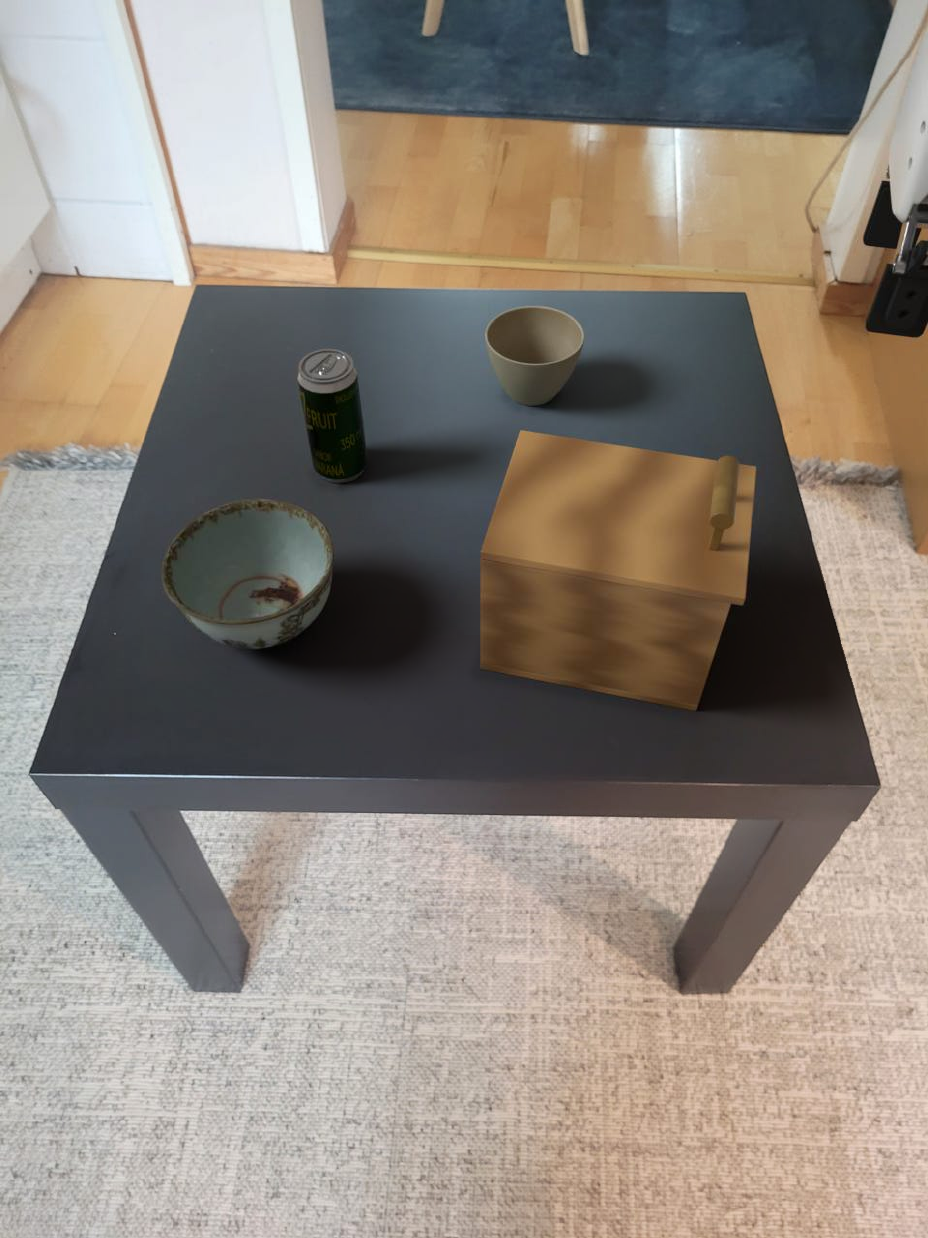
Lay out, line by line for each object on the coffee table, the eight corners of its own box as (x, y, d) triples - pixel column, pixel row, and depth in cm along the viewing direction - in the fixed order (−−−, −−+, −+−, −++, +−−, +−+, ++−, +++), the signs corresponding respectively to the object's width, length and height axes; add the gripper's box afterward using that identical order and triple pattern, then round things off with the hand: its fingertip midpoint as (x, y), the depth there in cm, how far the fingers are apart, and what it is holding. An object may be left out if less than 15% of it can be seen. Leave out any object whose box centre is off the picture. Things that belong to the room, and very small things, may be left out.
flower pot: (466, 384, 101) (466, 326, 95) (541, 352, 104) (545, 294, 99) (520, 434, 96) (523, 375, 90) (597, 399, 99) (604, 341, 93)
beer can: (330, 443, 95) (314, 341, 86) (377, 457, 94) (366, 355, 84) (303, 476, 92) (284, 374, 83) (352, 491, 91) (337, 389, 81)
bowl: (351, 560, 85) (340, 496, 79) (338, 682, 76) (326, 621, 70) (200, 562, 85) (178, 498, 79) (171, 683, 77) (144, 622, 70)
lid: (754, 473, 72) (768, 426, 68) (743, 606, 64) (759, 560, 60) (520, 437, 75) (522, 390, 71) (480, 559, 67) (480, 512, 63)
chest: (710, 585, 82) (743, 472, 72) (696, 711, 74) (731, 604, 64) (515, 551, 85) (520, 437, 75) (480, 669, 77) (480, 559, 67)
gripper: (1134, 34, 38) (965, 380, 52) (1070, -91, 49) (944, 223, 62) (941, 20, 40) (825, 361, 53) (920, -99, 50) (827, 211, 63)
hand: (889, 286), depth 58 cm, fingers open, 9 cm apart
